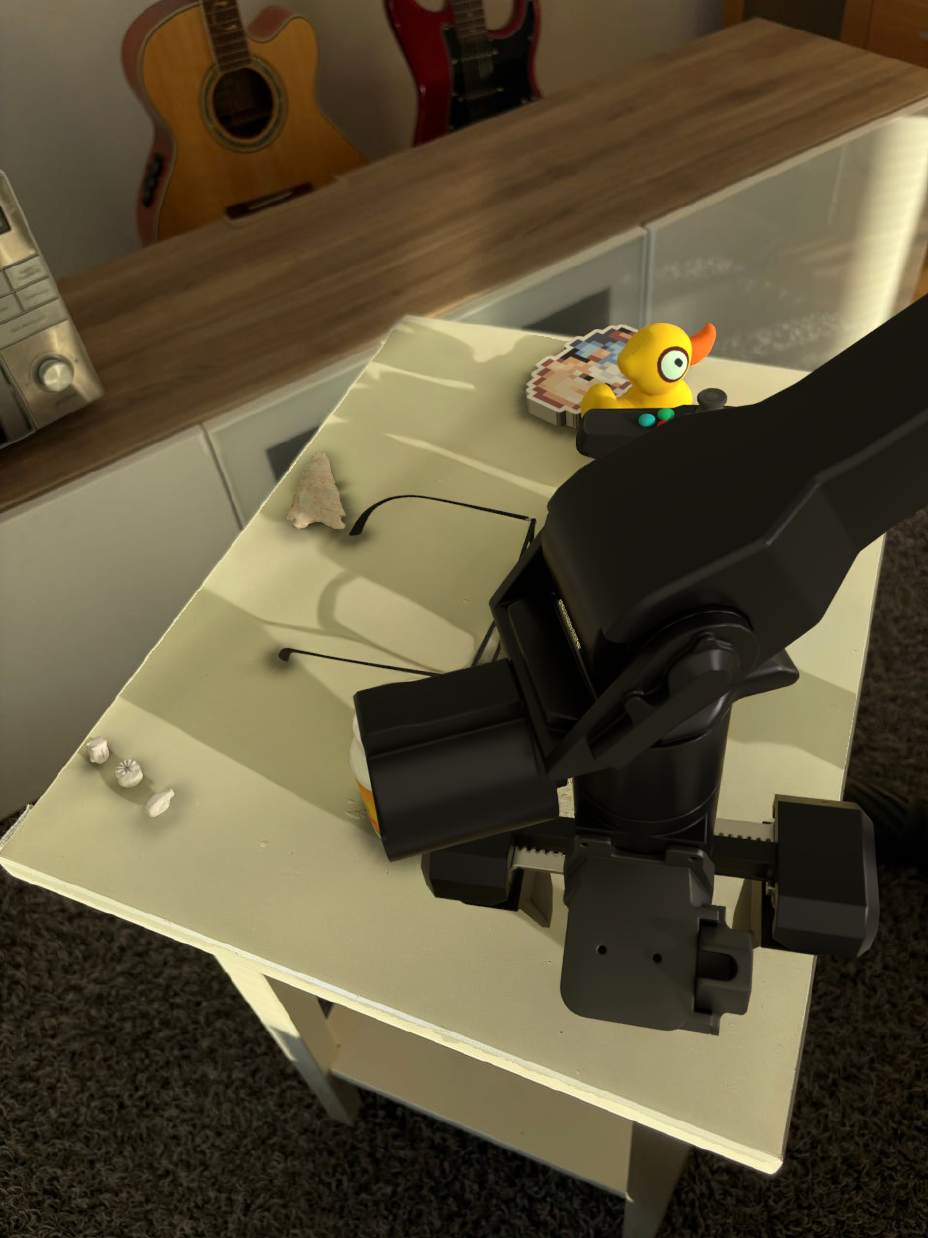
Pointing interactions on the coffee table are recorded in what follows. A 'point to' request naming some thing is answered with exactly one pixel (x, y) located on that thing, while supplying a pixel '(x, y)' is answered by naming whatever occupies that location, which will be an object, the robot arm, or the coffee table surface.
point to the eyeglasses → (529, 538)
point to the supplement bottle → (362, 774)
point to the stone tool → (316, 496)
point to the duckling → (654, 368)
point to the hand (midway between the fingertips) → (639, 932)
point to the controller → (634, 422)
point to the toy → (577, 375)
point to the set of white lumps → (129, 776)
